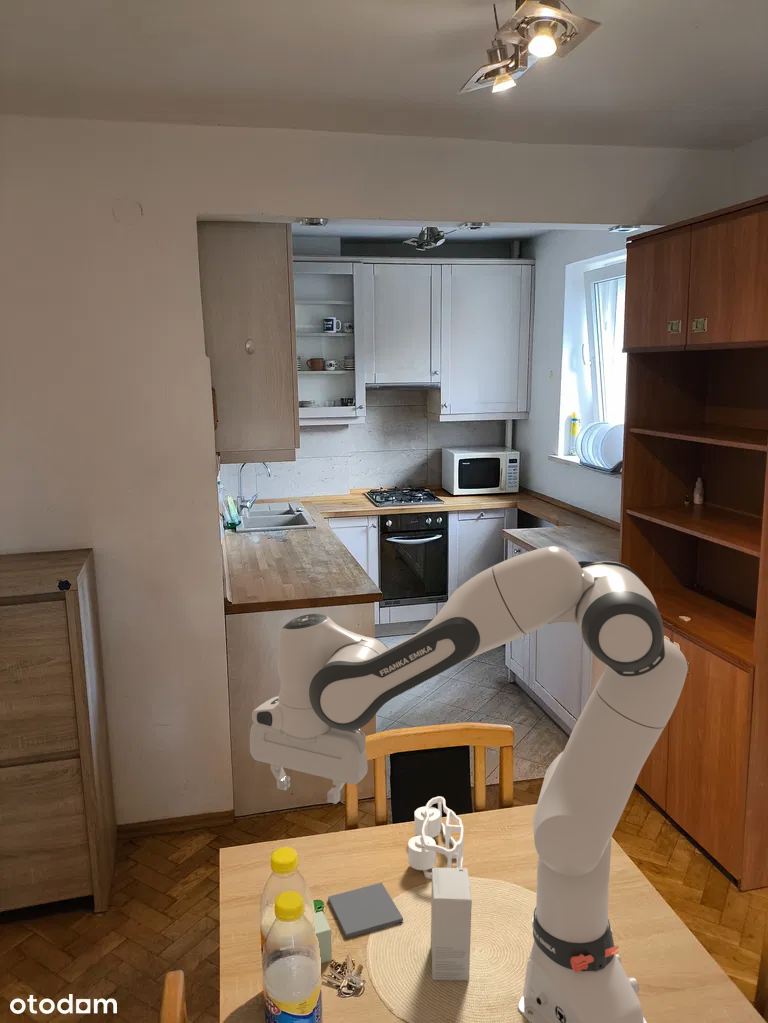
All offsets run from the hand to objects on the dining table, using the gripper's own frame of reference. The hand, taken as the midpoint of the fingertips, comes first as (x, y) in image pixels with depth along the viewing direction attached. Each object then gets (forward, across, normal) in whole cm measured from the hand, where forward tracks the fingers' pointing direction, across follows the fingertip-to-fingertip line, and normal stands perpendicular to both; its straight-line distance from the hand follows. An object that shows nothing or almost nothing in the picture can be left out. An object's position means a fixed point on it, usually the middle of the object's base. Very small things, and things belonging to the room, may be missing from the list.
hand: (308, 794), depth 124 cm
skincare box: (+32, -21, -11) cm, 40 cm away
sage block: (+32, +1, -3) cm, 32 cm away
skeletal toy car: (+32, -8, -39) cm, 51 cm away
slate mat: (+32, -2, -17) cm, 36 cm away
